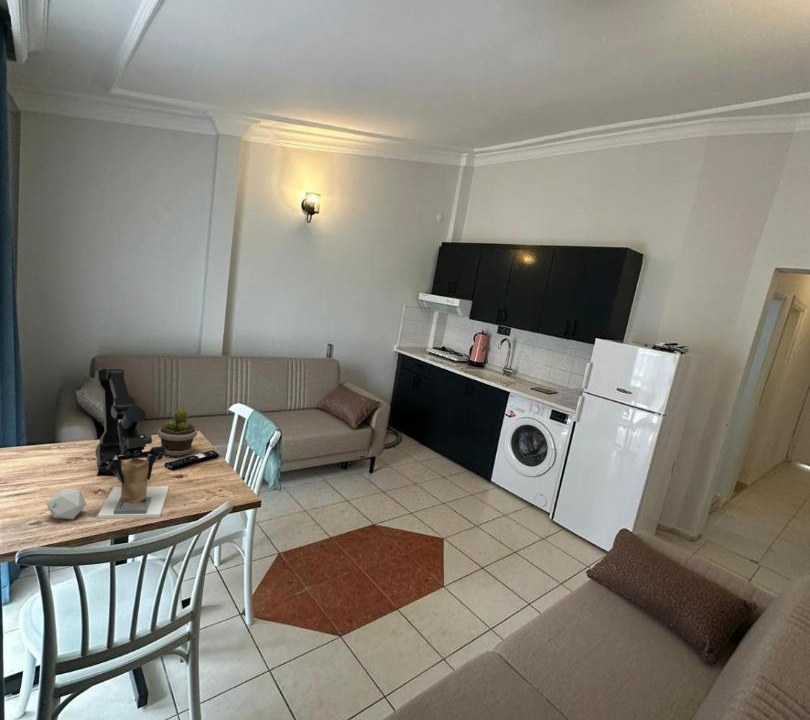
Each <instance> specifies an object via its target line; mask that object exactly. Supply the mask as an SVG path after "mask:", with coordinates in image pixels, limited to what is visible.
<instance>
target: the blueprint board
mask: <svg viewBox="0 0 810 720" xmlns="http://www.w3.org/2000/svg"><path fill="white" fill-rule="evenodd" d="M121 489H122V486H113V488H112V490H111V491H110V492H109V495H108V496H107V498H106V500H105V502H104V503H103V506H102V507H101V509H100V510H99V512H98V514H97V517H96V518H97V520H99V519H102V520H103V519H104V520H105V519H137V518H138V519H140V518H141V519H144V518H146V519H147V518H161V515H162V512H163V508H164V506H165V502H166V500H167V496H168V493H169V489H170V486H167V485H166V486H164V485H163V486H157V485H155V486H150V485H149V486H148V485H147V493H146V498H145V499H143V500H141V501H140V502H138V503H136V504H132V503H128V502H123V501H121Z"/></svg>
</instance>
